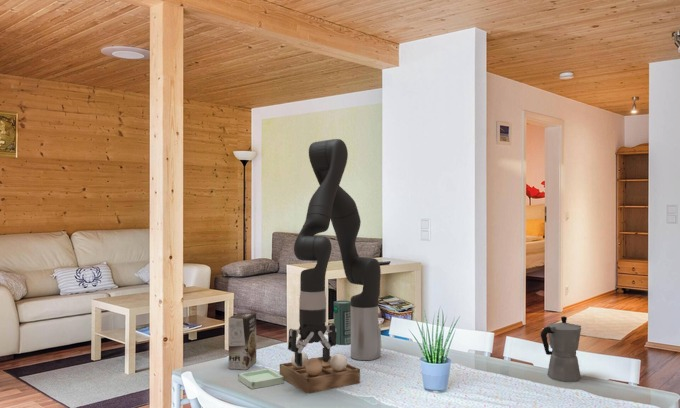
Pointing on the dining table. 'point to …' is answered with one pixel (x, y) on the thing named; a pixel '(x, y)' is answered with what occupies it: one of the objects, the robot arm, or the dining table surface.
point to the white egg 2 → (338, 362)
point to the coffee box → (242, 341)
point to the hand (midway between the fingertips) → (312, 363)
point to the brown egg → (313, 366)
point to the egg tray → (319, 377)
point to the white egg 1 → (304, 360)
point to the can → (342, 322)
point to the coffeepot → (562, 350)
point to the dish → (260, 378)
